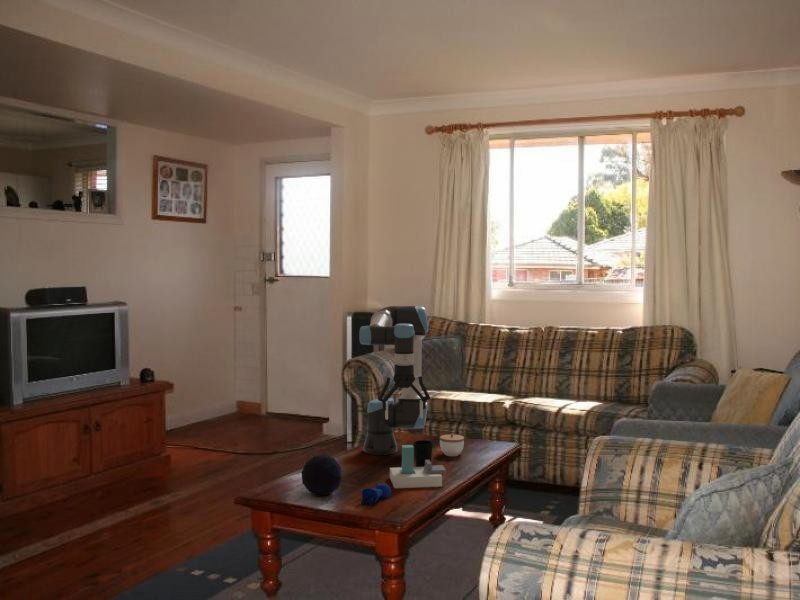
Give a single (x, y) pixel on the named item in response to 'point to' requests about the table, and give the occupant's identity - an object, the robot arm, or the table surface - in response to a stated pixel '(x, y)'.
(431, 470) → the plate
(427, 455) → the cup
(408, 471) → the plug
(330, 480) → the decorative orb
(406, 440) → the table surface
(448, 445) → the lidded jar
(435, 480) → the socket box
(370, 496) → the toy
